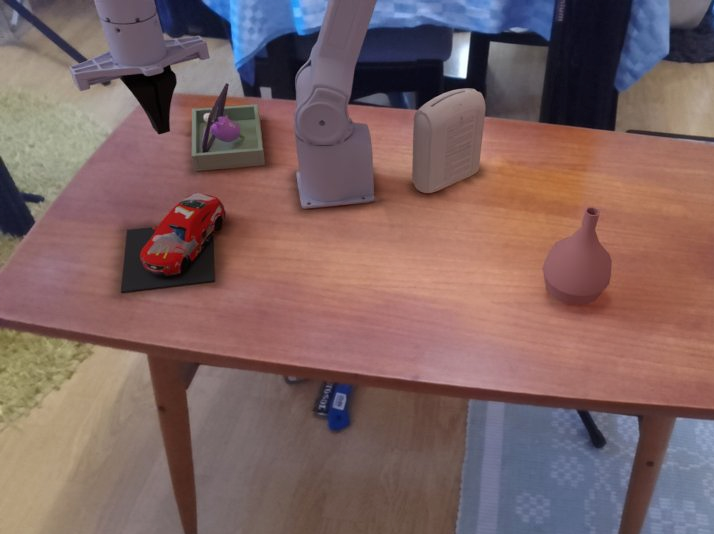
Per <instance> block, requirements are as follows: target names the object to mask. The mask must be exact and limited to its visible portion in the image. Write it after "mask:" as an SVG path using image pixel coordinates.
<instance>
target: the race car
mask: <svg viewBox="0 0 714 534" xmlns="http://www.w3.org/2000/svg"><path fill="white" fill-rule="evenodd" d="M226 217H227V216H226V210H225V206H224V204H223V203H222V201H221V200H220V199H219V198H218V197H217V196H214V195H211V194H206V193H201V192H200V193H199V192H196V193H192V194H190V195H188V196H187V197H185V198H184V199H182V200H181V201H179V202H177V204H175V206H173V208H172V209H171V210H170V211H169V212H167V214H166V215H165V216H164V218H163V219H162V220H161V221H160V223H159V224H158V225H157V226H151V227H152V229H154V230H155V233H154V234H153V236H152V237H151V239H150V240H149V241H148V242H147V244H146V245H145V246H144V247H143V249H142V251H141V253H140V259H141V261H142V263H143V266H144V268H145V269H146V270H147V271H148V272H150V273H152V274H155V275H161V276H170V275H175V274H179V273H181V272H186V271H187V270H188V269H189V267H190V261H191V262H192V261H193V260H194V259H195V258H196V256H197V255H198V254H199V253H200V251H201V250H202V249H203V248H204V246H205V245H206V244H207V243H208V242H209V240H210V239H211V238H212V237H213V238H214V235H216V233H218V232H220V231H221V229H222V227H223V223H224V222H225V220H226ZM156 227H157V228H156Z"/></svg>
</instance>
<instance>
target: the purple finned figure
mask: <svg viewBox="0 0 714 534" xmlns="http://www.w3.org/2000/svg"><path fill="white" fill-rule="evenodd" d="M229 85H230V84H229V83H227V82H225V84H224V86H223V88H222V90H221V92H220V94H219V95H218V97H217V98H216V100H215V103H214V104H213V106H212V107H213V108H212V109H211V112H210V113H206V114H205V115H204V121H205V122H207V128H206V131H205V127H204V133H205V134H204V133H203V138H204V139H202V140H203V143H202V149H203V152H202V153H206V152H208V150H209V148H210V146H211V144H212V142H213V140H214V138H215V137H216V138H218V139H219V140H221V141H224V142H232V141H235V140H236V139H237V138H238V137H240V138H243V140H244V139H245V136H243V135H242V134H241V133H240V128H239V127H238V125H237V124H238V122H236V123H234V122H232V121H231V120H229V119H228V117H227V115H226V116H225V117H223V113H224V108H225V107H226V103H227V96H228V91H229V87H230V86H229ZM217 107H218V109H217ZM216 109H217V115H216V119H214V120H213V121H212V122H211V120H212V117H213V115H214V113H215V111H216ZM210 126H211V127H210ZM210 129H211V130H210ZM209 132H210V134H212V136H211V138H210V140H209V142H208V138H209ZM207 143H208V144H207Z"/></svg>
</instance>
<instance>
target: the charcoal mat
mask: <svg viewBox="0 0 714 534" xmlns="http://www.w3.org/2000/svg"><path fill="white" fill-rule="evenodd" d="M152 227H153V226H149V227H139V228H130V229H126V238H125V245H124V246H125V247H124V255H123V265H122V276H121V283H120V293H121V294H122V293H130V292H131V293H133V292H139V291H148V290H157V289H166V288H171V287H172V288H173V287H182V286H190V285H199V284H206V283H215V251H214V249H215V246H214V243H215V242H214V236H213V237H212V238H211V239H210V240H209V242H208V243H207V244H206V245H205V246H204V248H203V249H202V250H201V251H200V253H199V254H198V255H197V256H196V258H195V259H194V260H193V261H192V262H191V261H190V267H189V269H188V270H187V271H186V272H181V273H179V274H175V275H170V276H161V275H155V274H152V273H150V272H148V271H147V270H146V269H145V268H144V266H143V263H142V261H141V259H140V253H141V251H142V249H143V247H144V246H145V245H146V244H147V242H148V241H149V240H150V239H151V237H152V236H153V234H154V233H155V230H154V229H152ZM155 227H156V228H157V227H158V226H155Z"/></svg>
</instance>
